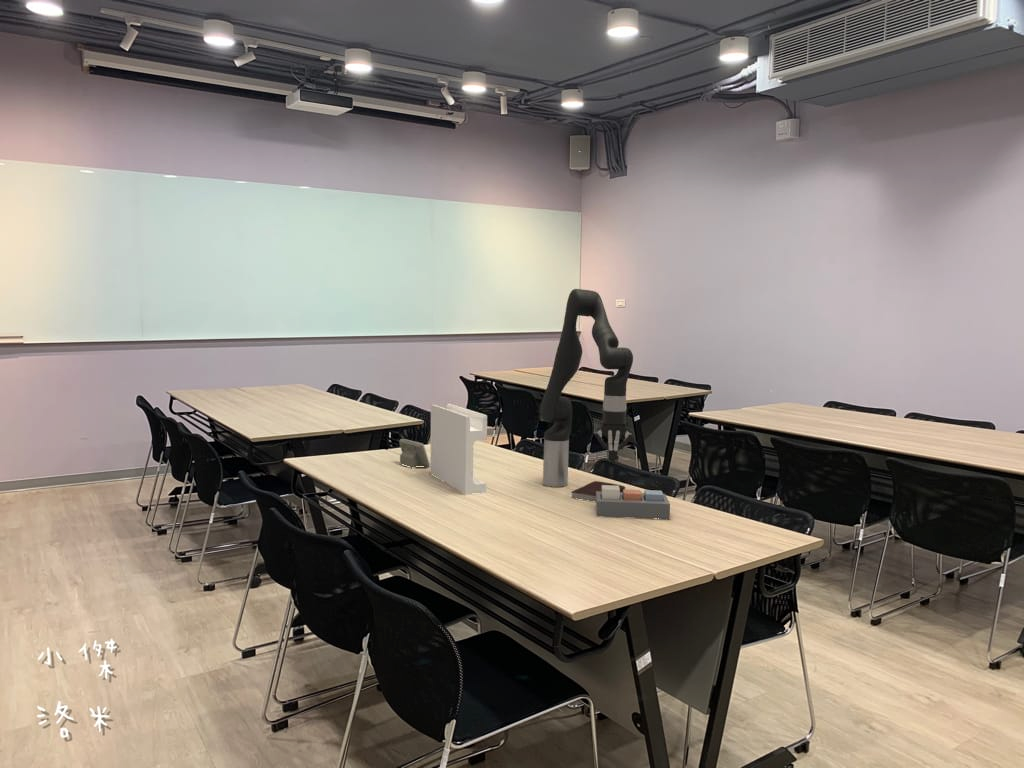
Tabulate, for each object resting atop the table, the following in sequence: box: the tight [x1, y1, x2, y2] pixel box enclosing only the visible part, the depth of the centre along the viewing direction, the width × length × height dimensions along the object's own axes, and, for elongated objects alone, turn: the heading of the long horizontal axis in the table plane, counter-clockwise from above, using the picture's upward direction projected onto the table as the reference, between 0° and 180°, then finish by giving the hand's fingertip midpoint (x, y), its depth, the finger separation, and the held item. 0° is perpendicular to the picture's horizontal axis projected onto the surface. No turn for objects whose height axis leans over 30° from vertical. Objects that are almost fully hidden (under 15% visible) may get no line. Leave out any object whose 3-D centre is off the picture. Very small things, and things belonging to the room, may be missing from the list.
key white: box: [601, 485, 620, 500], centre depth 240 cm, size 6×6×4 cm
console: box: [595, 491, 671, 520], centre depth 240 cm, size 23×13×5 cm, turn 85°
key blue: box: [643, 489, 664, 501], centre depth 239 cm, size 6×6×4 cm
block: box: [429, 403, 488, 495], centre depth 275 cm, size 35×8×28 cm, turn 27°
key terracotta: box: [623, 488, 642, 500], centre depth 240 cm, size 6×6×4 cm
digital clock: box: [398, 438, 430, 468], centre depth 306 cm, size 16×9×11 cm, turn 31°
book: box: [570, 480, 626, 503], centre depth 262 cm, size 12×19×3 cm, turn 148°
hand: (612, 461), depth 239 cm, fingers closed
